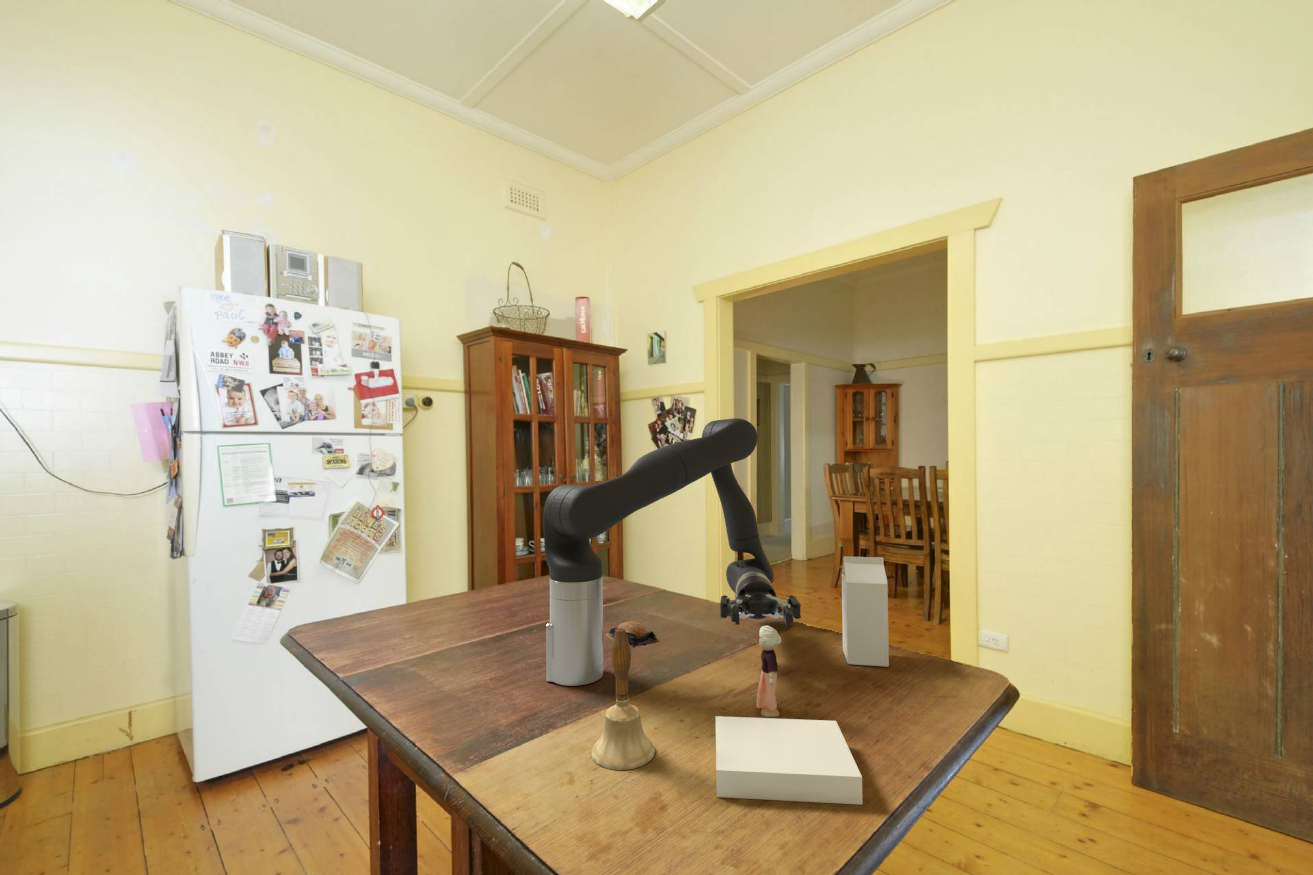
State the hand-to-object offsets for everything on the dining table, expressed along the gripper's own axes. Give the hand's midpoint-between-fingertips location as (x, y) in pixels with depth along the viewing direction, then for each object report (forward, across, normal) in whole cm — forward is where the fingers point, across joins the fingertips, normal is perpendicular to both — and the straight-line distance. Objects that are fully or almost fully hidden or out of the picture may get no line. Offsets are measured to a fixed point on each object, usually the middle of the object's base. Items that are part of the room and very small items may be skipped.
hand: (762, 619), depth 96 cm
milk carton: (-11, +20, +11) cm, 25 cm away
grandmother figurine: (+12, 0, +10) cm, 16 cm away
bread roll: (-20, -26, +11) cm, 35 cm away
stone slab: (+27, 0, +10) cm, 29 cm away
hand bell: (+25, -20, +10) cm, 34 cm away
